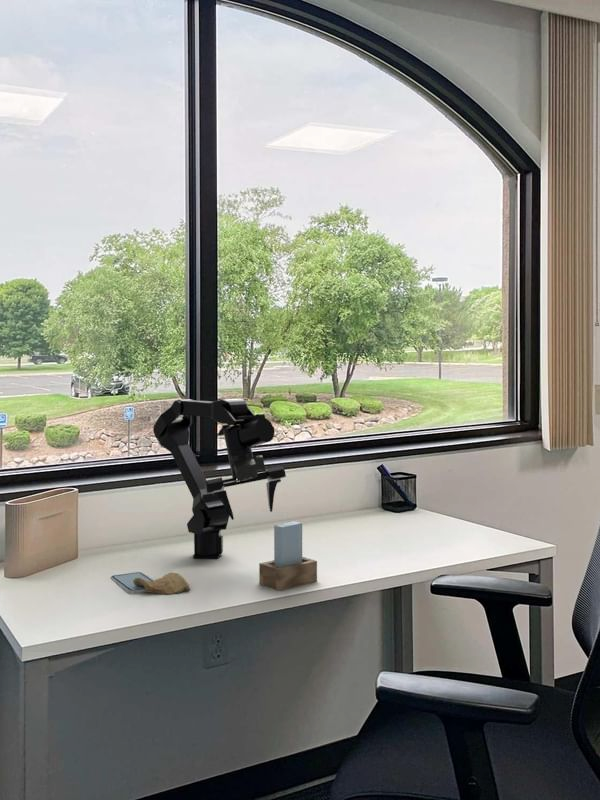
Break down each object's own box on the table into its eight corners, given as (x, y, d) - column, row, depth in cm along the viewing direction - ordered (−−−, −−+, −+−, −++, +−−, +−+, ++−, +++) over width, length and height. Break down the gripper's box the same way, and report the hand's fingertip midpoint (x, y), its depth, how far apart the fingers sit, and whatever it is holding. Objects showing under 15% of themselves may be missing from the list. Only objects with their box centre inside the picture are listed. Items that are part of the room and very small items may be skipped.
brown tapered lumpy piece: (168, 586, 176) (128, 583, 170) (173, 567, 176) (133, 563, 170) (192, 601, 168) (150, 598, 161) (196, 581, 168) (155, 577, 162)
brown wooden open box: (279, 590, 167) (279, 569, 167) (259, 583, 172) (259, 563, 172) (316, 580, 174) (316, 560, 174) (296, 574, 180) (296, 555, 179)
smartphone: (140, 571, 182) (163, 586, 169) (140, 575, 182) (163, 591, 169) (109, 575, 178) (129, 591, 165) (109, 580, 178) (129, 596, 165)
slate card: (281, 586, 170) (281, 527, 170) (274, 583, 172) (274, 525, 171) (302, 581, 174) (302, 523, 174) (294, 578, 176) (294, 521, 175)
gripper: (201, 454, 177) (214, 523, 175) (282, 439, 181) (295, 506, 179) (200, 459, 188) (212, 524, 186) (276, 444, 191) (288, 508, 189)
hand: (252, 515), depth 185 cm, fingers open, 9 cm apart
